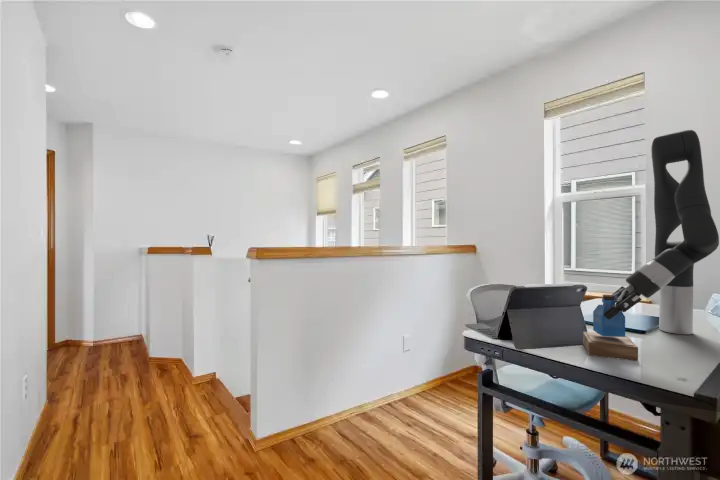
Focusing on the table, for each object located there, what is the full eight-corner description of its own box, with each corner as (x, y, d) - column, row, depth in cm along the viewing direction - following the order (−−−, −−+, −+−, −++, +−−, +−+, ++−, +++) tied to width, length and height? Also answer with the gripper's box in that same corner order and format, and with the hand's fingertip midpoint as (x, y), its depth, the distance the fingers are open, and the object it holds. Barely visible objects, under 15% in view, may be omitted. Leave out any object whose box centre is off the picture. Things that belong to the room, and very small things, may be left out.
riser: (582, 343, 117) (582, 330, 117) (626, 347, 112) (626, 334, 112) (589, 355, 106) (589, 341, 106) (638, 360, 101) (638, 346, 101)
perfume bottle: (625, 337, 105) (625, 297, 105) (602, 336, 106) (602, 297, 106) (614, 331, 111) (614, 293, 111) (593, 330, 112) (593, 293, 112)
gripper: (631, 267, 111) (588, 300, 117) (646, 272, 98) (597, 310, 104) (652, 284, 109) (607, 318, 114) (670, 292, 96) (619, 329, 101)
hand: (603, 314), depth 109 cm, fingers closed on perfume bottle, 7 cm apart
